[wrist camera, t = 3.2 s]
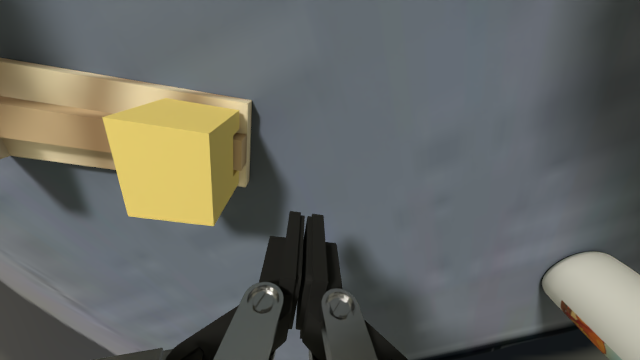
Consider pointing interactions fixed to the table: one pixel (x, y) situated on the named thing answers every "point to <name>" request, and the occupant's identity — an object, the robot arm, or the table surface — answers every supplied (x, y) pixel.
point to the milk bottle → (599, 301)
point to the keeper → (174, 159)
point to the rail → (100, 100)
